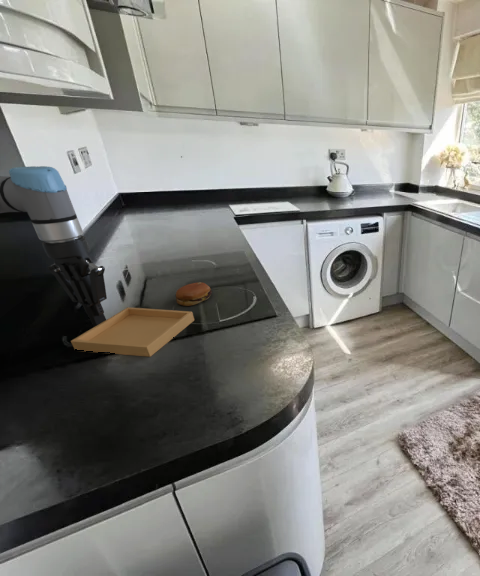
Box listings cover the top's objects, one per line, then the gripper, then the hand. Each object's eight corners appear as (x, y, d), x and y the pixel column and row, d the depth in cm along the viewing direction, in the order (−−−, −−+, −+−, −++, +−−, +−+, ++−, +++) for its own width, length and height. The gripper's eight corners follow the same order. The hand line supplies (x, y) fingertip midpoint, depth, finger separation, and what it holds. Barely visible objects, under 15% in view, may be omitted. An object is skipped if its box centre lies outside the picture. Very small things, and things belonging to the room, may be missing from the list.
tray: (75, 350, 78) (70, 341, 77) (130, 315, 93) (127, 307, 92) (150, 356, 76) (146, 347, 75) (194, 320, 91) (192, 311, 90)
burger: (172, 307, 97) (168, 294, 95) (184, 294, 105) (180, 281, 103) (207, 305, 99) (204, 291, 97) (216, 292, 107) (213, 279, 105)
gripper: (103, 235, 77) (134, 319, 87) (54, 232, 78) (91, 315, 89) (73, 244, 70) (110, 334, 81) (20, 241, 71) (64, 330, 82)
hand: (100, 324), depth 85 cm, fingers closed
